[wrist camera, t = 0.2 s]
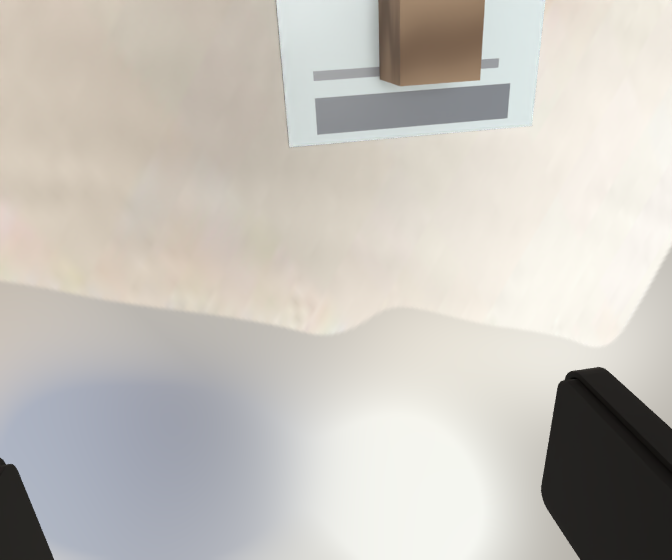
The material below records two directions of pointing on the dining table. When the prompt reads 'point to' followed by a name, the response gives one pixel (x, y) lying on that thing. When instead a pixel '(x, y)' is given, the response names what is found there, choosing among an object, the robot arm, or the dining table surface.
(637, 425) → the robot arm
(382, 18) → the walnut cube
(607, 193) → the dining table surface
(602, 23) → the dining table surface
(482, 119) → the letter
